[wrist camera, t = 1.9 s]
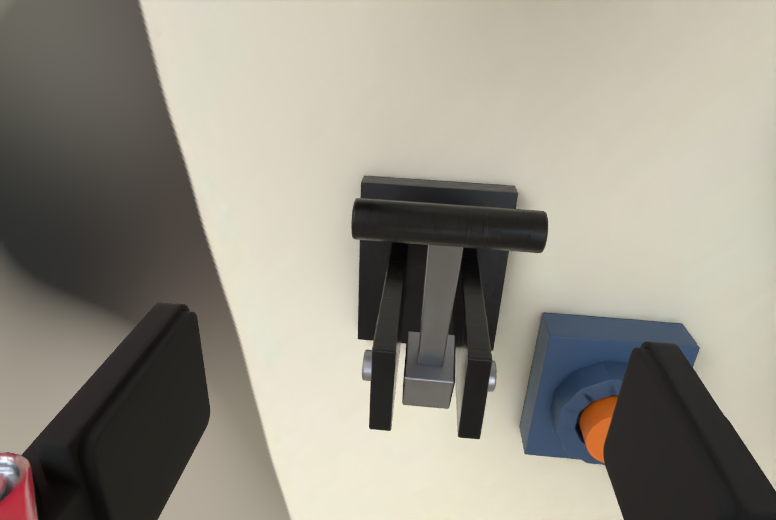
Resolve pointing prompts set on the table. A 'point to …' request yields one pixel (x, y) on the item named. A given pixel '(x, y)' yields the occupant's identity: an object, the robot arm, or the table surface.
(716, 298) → the table surface
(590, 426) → the button
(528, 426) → the control block
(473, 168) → the table surface
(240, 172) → the table surface
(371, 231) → the lever
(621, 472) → the robot arm
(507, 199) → the lever bracket
